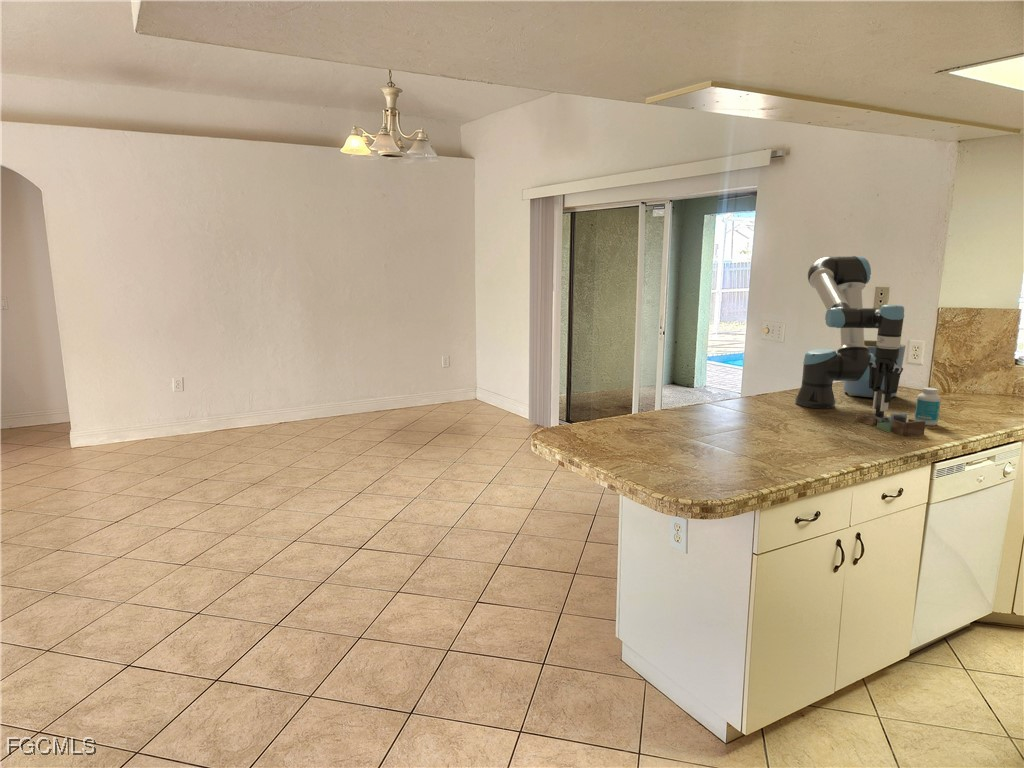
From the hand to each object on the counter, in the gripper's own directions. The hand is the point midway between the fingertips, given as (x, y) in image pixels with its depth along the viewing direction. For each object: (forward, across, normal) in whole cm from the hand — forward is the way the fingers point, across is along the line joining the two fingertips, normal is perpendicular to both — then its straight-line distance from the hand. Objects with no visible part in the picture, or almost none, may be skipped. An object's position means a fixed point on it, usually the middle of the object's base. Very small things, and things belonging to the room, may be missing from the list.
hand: (880, 409), depth 233 cm
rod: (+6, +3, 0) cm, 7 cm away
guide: (+6, -3, 0) cm, 7 cm away
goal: (+6, +13, 0) cm, 14 cm away
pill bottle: (+6, +4, +18) cm, 19 cm away
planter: (+6, -41, +36) cm, 55 cm away
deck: (+6, +7, 0) cm, 9 cm away
